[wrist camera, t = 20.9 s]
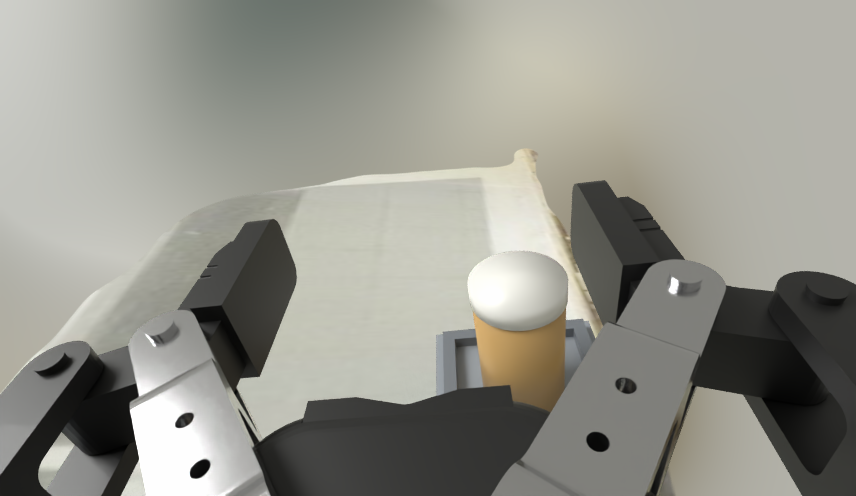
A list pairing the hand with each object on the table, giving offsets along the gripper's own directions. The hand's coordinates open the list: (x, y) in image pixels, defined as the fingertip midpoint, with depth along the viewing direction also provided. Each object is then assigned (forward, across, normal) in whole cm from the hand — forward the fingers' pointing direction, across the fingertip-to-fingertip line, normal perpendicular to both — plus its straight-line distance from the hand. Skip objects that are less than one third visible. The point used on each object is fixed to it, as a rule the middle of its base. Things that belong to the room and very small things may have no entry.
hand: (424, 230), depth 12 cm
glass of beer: (+12, -4, +23) cm, 26 cm away
